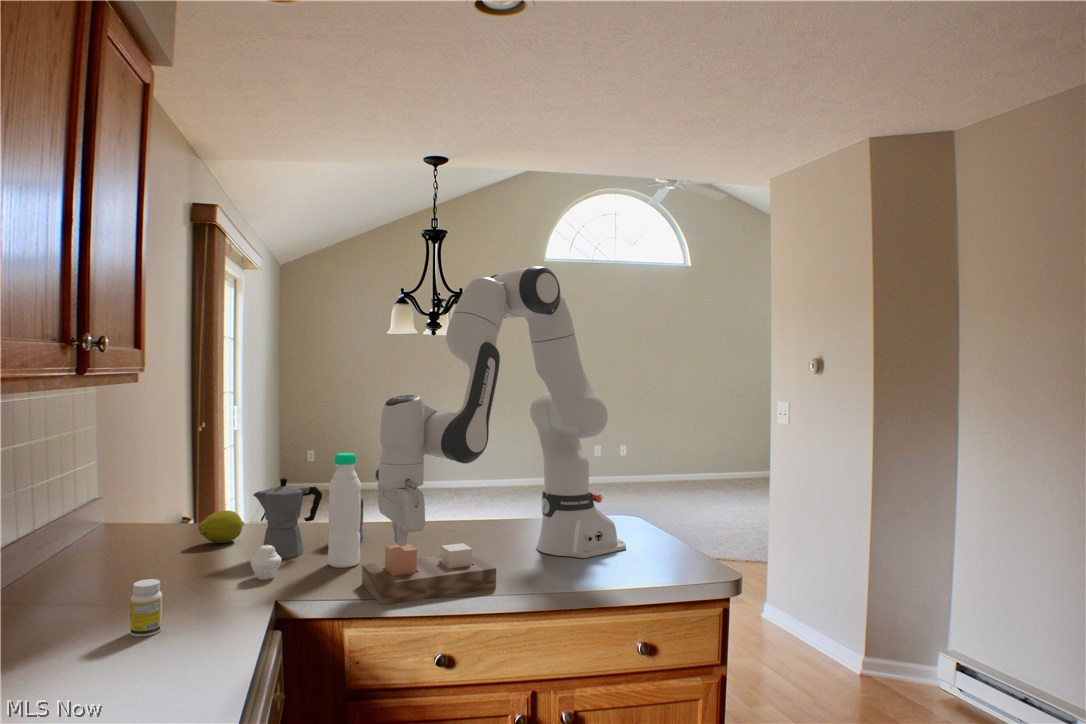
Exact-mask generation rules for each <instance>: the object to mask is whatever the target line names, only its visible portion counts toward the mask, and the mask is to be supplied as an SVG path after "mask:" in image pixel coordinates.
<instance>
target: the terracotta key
mask: <svg viewBox="0 0 1086 724" xmlns="http://www.w3.org/2000/svg"><path fill="white" fill-rule="evenodd" d="M384 547H385V549H384V553H385V554H384V562H385V571H386V572H387V573H388V574H389V575H390V576H396V575H403V574H411V573H417V558H418V554H417V553H418V549H417V548H415V547H414V546H413V545H411V544H410V543H407V544H406V546H398V545H397V544H394V545H387V546H384Z"/></svg>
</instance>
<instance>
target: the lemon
mask: <svg viewBox="0 0 1086 724" xmlns="http://www.w3.org/2000/svg"><path fill="white" fill-rule="evenodd" d="M244 525H245V521H243V520H242V518H241V516H240V515H239V514H238V513H237V512H236V511H233V510H220V511H215V512H213V513H211V514H209V515H208V516H207V517H205V518H204V520H202V521H200V523H199V524H198V531H199V534H200V535H201V536H203V537H204V538H205V539H206V540H208V541H209V542H212V543H215V544H226V543H230V542H231V541H234V540H235V539H237V538H238V537H239V536H240V535H241V533H242V531H243V528H244Z"/></svg>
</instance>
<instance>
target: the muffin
mask: <svg viewBox="0 0 1086 724" xmlns="http://www.w3.org/2000/svg"><path fill="white" fill-rule="evenodd" d="M282 560H283V559H281V557H280V556H279V555H278V554H277V552H276V551H275V548H274V547H273V546H271V545H265V546H263V545H261V546H260V547H258V549H257V550H256V553H255V555H254V556H253V557H252V558H251V560H250V566H251V569H252V570H253V572H254V575H255V576H256V578H257V579H258V580H259V581H260V580H262V581H265V580H266V581H268V580H271V579H273V578H275V576H276V574H277V572H278V570H279V568H280V566H281V564H282Z"/></svg>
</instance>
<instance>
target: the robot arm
mask: <svg viewBox="0 0 1086 724" xmlns="http://www.w3.org/2000/svg"><path fill="white" fill-rule="evenodd" d="M570 312H571V311H570V309H569V307H568V304H567V302H566V299H565V298H564V297H563V296H562V295H561V287H560V283H559V280H558V278H557V276H556V275H555V273H554V272H553V271H552V270H551V269H549V268H548V267H546V266H545V267H544V266H537V265H535V266H529V267H522V268H521V267H520V268H515V269H511V270H509V271H505V272H503V273H499V274H494V275H492V276H489V277H488V276H487V277H486V276H479V277H475V278H473V279H472V280H471V281H469V282H468V284H467V286H466V287H465V289H464V290H463V292H462V293H461V295H460V297H459V299H458V301H457V303H456V306H455V308H454V310H453V312H452V315H451V318H450V319H449V323H448V325H447V329H446V335H445V341H446V344H447V347H448V349H449V351H450V352H451V353H452V355H453V356H455V358H457V359H458V360H460V361H461V362H462V363H465V365H467V367H468V370H469V375H468V380H467V385H466V390H465V395H464V399H463V402H462V403H463V404H462V406H461V407H460V409H459V410H458V411H456V412H451V411H444V410H439V409H437V408H435V407H433V406H431V405H429V404H428V403H426V402H425V401H424V400H423V399H422V397H421V396H419V395H415V394H406V395H398V396H395V397H391V398H389V399H388V400H386V401H385V403H384V405H383V408H382V412H381V415H380V416H381V417H380V428H379V441H380V445H381V454H380V456H379V457H380V458H379V466H378V468H376V469H375V471H374V473H375V475H374V477H375V479H374V480H376V481H377V486H376V487H377V505H378V509H379V513H380V514H381V515H383V516H384V517H385V518H387V519H388V520H390V521H391V526H392V531H393V542H394V543H395V545H398V546H406V544H408V536H409V533H414V532H421V531H424V529H425V527H426V526H425V525H426V507H425V505H426V503H425V497H424V493H423V491H421V490H419V487H421V486H423V485H424V479H425V476H424V475H425V458H424V457H425V456H426V455H427V456H432V457H435V458H441V459H448V460H451V461H454V462H456V463H461V464H471V463H473V462H474V461H477V460H478V458H480V457H481V455H482V454H483V453H484V451H485V450H486V448H487V445H488V442H489V433H490V432H489V426H490V419H491V418H490V416H491V411H492V406H493V402H494V397H495V393H496V386H497V382H498V378H499V377H498V376H499V371H500V363H501V361H500V360H501V357H500V352H499V350H498V348H497V341H498V337H499V335H500V331H501V327H502V325H503V322H504V321H503V320H504V319H505V318H506V319H507V318H521V317H524V319H525V321H526V322H527V325H528V332H529V333H528V335H529V339H530V345H531V349H532V355H533V361H534V365H535V371H536V373H537V375H538V377H539V378H540V379H541V380H542V381H543V383H544V385H545V386H546V388H547V390H548V391H546V392H543V393H539V395H537V396H536V397H535V398H534V399H533V401H532V402H531V405H530V410H529V413H530V419H531V421H532V422H533V424H534V426H535V427H536V430H537V434H538V436H539V440H540V441H539V442H540V446H541V450H542V456H543V490H542V492H541V512H542V519H541V527H540V533H539V537H538V541H537V544H536V550H537V551H538V552H541V553H544V554H547V555H552V556H559V557H560V556H561V557H573V558H578V559H579V558H580V559H587V558H591V557H595V556H596V557H597V556H600V555H605V554H609V553H613V552H618V551H623V550H625V549H627V545H626V543H625V542H624V540H621V539H619V538H618V534H617V529H616V528H617V527H616V525H615V522H614V521H613V520H612V519H611V518H609V517H608V516H607V515H606V514H604V513H603V512H602V511H600V510H599V509H598V508H597V507H596V506H595V502H596V503H598V504H599V503H601V502H602V501H603V496H602V494H600V493H592V492H590V491H589V486H590V485H589V482H590V479H589V478H590V477H589V476H590V474H589V473H590V469H589V468H590V464H589V463H590V462H589V459H588V457H587V455H586V453H585V452H584V450H583V447H582V444H581V441H580V439H581V440H582V439H589V438H594V437H596V436H598V435H599V434H601V433H602V432H603V431H604V429H605V428H606V427H607V425H608V424H607V423H608V416H609V415H608V414H609V413H608V410H607V409H608V408H607V406H606V405H605V403H604V402H603V401H602V400H601V398H599V397H598V396H597V394H596V393H595V391H594V389H593V387H592V385H591V383H590V381H589V379H588V376H587V374H586V372H585V370H584V367H583V365H582V361H581V358H580V357H581V356H580V352H579V347H578V343H577V337H576V336H577V335H576V332H575V327H574V323H573V319H572V316H571V313H570Z"/></svg>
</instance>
